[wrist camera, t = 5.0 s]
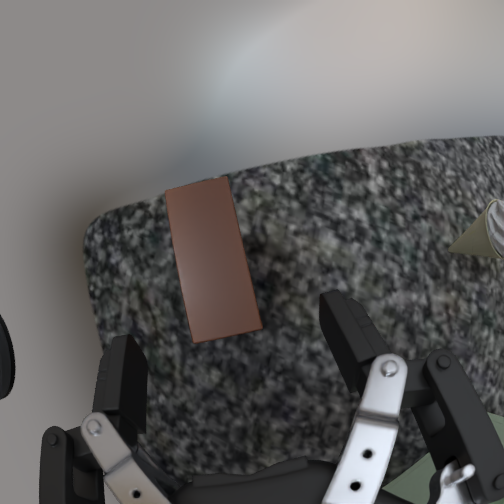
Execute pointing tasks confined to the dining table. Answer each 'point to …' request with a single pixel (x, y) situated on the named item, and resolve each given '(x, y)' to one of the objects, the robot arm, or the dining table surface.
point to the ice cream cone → (484, 234)
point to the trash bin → (428, 474)
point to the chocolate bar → (211, 261)
